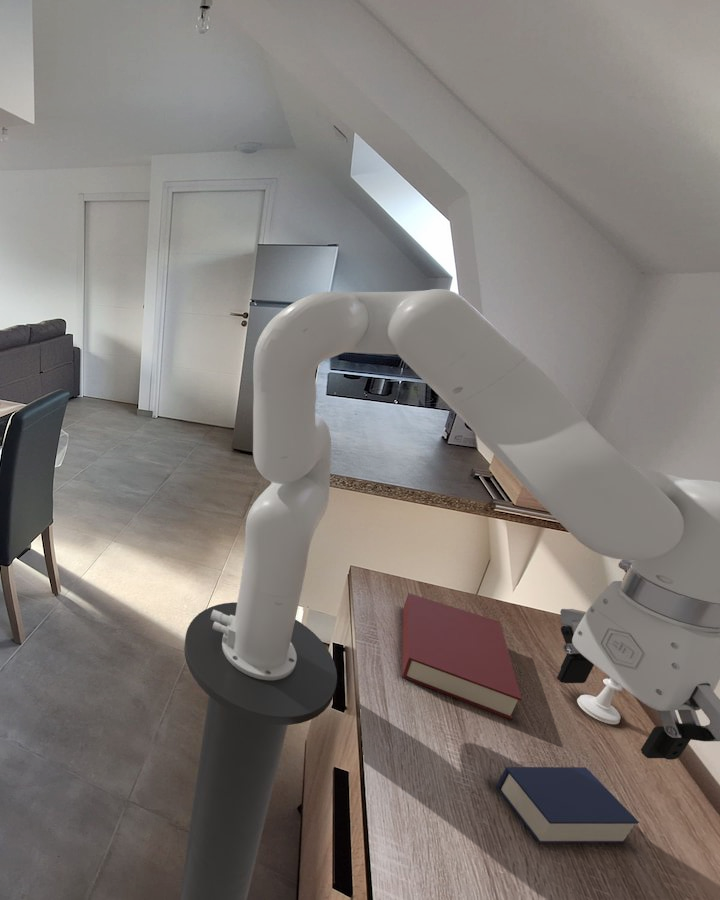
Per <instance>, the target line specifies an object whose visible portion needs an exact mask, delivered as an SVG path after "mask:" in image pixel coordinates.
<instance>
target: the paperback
mask: <svg viewBox="0 0 720 900" xmlns="http://www.w3.org/2000/svg"><path fill="white" fill-rule="evenodd" d="M495 788H496V790H497V791H498V792H499V793H500V795H501V796H502V797H503V798H504V800H505V801H506V803H507V804H508V805H509V806H510V808H511V810H512V811H513V812H514V814H516V816H517V817H518V818H519V819H520V822H522V824H523V825H524V826H525V827H526V829H527V830H528V832H529V833H530V835H532V837H533V838H534V840H535V841H536V842H537V843H538V844H625V843H626V840H625V839H626V838H627V836H628V835H629V833H630V832H631V830H633V828H634V827H635V825H636V824H638V825H639V823H640V821H639V820H638V819H637V818H636V817H635V816H634V815H633V813H631V812H630V811H629V810H628V809H627V808H626V807H625V806H624V805H623V804H622V803H621V801H620V800H618V799H617V797H616V796H615V795H614V794H613V793H611V792H610V790H609V789H607V788H606V786H605V785H604V784H603V783H602V782H601V781H600V780H599V779H598V778H597V777H596V776H595V775H594V774H593V773H592V772H591V771H590V770H589V769H588V768H587V767H586V766H585V767H584V766H583V767H582V766H581V767H579V766H577V767H576V766H575V767H574V766H569V767H568V766H506V767H504V770H503V772H502V774H501V777H500V778H499V780H498V782H497V784H496V786H495Z"/></svg>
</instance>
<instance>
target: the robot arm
mask: <svg viewBox="0 0 720 900" xmlns="http://www.w3.org/2000/svg"><path fill="white" fill-rule="evenodd" d="M345 353H355V354H377V355H398V357H399V358H400V359H401V360H402V361H403V362H404V363H405V364H406V365H407V366H408V367H409V368H410V369H411V370H412V371H413V372H414V373H415V374H416V375H417V376H418V377H419V378H420V379H421V380H422V381H423V382H424V383H425V384H426V385H427V386H429V388H430V389H432V390H433V391H434V392H435V394H436V395H437V396H438V397H440V398H441V399H442V400H443V401H444V403H445V404H446V405H448V407H449V408H450V409H451V410H452V411H453V412H454V413H455V414H456V415H457V416H458V418H460V419H461V420H462V421H463V422H464V423H465V424H466V426H468V427H469V429H471V430H472V432H473V433H474V434H475V436H476V437H477V438H478V439H479V441H480V442H481V443H483V445H484V446H485V447H487V448H488V450H489V451H490V452H491V453H493V454H494V455H495V456H496V457H497V458H498V460H500V462H501V463H502V464H503V465H504V466H505V467H506V468H507V469H508V471H510V472H511V474H512V475H513V476H514V477H515V478H516V479H517V480H518V481H519V482H520V483H521V484H522V486H523V487H524V488H525V489H526V490H527V491H528V492H529V493H530V494H531V495H532V497H533V498H535V499H536V500H537V502H538V503H539V504H540V505H541V506H542V507H543V508H544V509H545V510H546V511H547V512H548V513H549V514H550V515H551V516H552V517H553V518H554V519H555V520H556V521H557V522H558V523H559V524H560V525H561V526H562V527H563V528H564V529H565V530H566V531H567V532H568V533H569V534H570V535H571V536H573V538H575V540H577V541H578V542H579V543H580V544H582V545H583V546H584V547H586V548H588V549H589V550H591V551H593V552H595V553H597V554H599V555H601V556H604V557H608V558H611V559H614V560H620V561H619V562H618V568H620V569H621V570H623V571H624V573H625V574H624V576H623V578H622V580H614V581H612V582H611V583H610V584H609V585H607V586H606V587H605V588H604V590H602V592H600V594H599V595H598V596H597V597H596V598H595V599H594V601H592V603H591V605H590V606H589V607H588V609H587V611H583V610H579V609H573V608H562V609H560V612H559V613H560V622H561V624H562V626H561V627H560V632H561V635H562V638H563V641H564V643H565V644H563V647H562V648H563V651H564V652H565V653H566V655H565V657H564V659H563V661H562V663H561V666H560V670H559V672H558V674H557V677H556V679H557V680H558V681H559V682H560V683H561V684H562V683H563V684H584V683H586V682H587V680H588V678H589V676H590V674H591V672H592V670H593V668H594V666H595V667H596V668H597V669H599V670H600V671H601V672H602V673H604V674H605V675H606V676H607V677H609V679H610V678H611V679H613V680H614V681H615V682H617V683H618V684H619V685H620V686H622V689H624V690H625V691H627V692H628V693H629V694H631V695H632V696H633V697H635V698H636V699H637V700H639V701H640V702H641V703H642V704H644V705H646V706H647V707H649V708H651V709H652V710H653V709H654V710H655V711H657V713H658V716H659V719H660V722H661V724H662V725H657V726H656V725H655V726H654V727H653V729H652V730H651V732H650V734H649V735H648V736H647V738H646V740H645V742H644V744H643V745H642V747H641V748H640V752H641V754H642V755H643V756H644V757H645V758H646V759H665V760H673V761H674V760H676V759H678V758H680V757H681V755H682V754H683V752H684V751H685V749H686V748H687V746H688V745H689V743H690V742H691V740H692V741H699V742H720V697H718V695H717V694H716V693H715V689H716V688H717V686H718V684H719V682H720V481H715V480H709V479H689V478H685V477H681V476H680V477H679V476H675V475H671V474H667V473H664V472H660V471H656V470H652V469H649V468H645V467H642V466H638V465H636V464H631V462H629V460H628V459H626V458H625V457H624V455H622V454H621V453H620V452H619V451H618V450H617V449H616V448H615V447H613V445H612V444H611V443H610V442H609V441H607V439H605V437H603V436H602V435H601V434H600V433H599V432H598V431H597V429H596V428H595V427H593V425H592V424H591V423H590V422H589V421H588V420H587V419H586V418H585V417H584V416H583V415H582V414H581V413H580V411H578V409H577V408H576V406H575V405H574V404H573V403H572V401H571V400H570V399H569V398H568V396H567V395H566V394H565V392H564V391H562V389H561V388H560V387H559V386H558V385H557V384H556V383H555V382H554V381H553V379H551V378H550V377H549V376H548V375H547V374H546V373H545V372H544V371H543V370H542V369H541V368H540V367H538V365H536V364H535V363H534V362H533V361H532V360H531V359H530V358H529V357H528V356H527V355H525V353H523V352H522V350H520V349H519V348H518V347H517V346H516V345H515V344H514V343H512V342H511V340H509V339H508V337H506V336H505V335H504V334H503V333H502V332H501V331H500V330H499V329H497V327H496V326H494V324H492V322H490V321H489V320H488V319H487V318H486V317H485V316H484V315H483V314H482V313H480V311H479V310H477V309H476V308H475V307H474V306H473V305H472V304H471V303H470V302H469V301H467V299H466V298H464V297H463V296H462V295H460V294H459V293H457V292H455V291H452V290H448V289H445V288H444V289H443V288H432V289H425V290H410V291H407V290H406V291H321V292H317V293H312V294H310V295H307V296H305V297H303V298H300V299H298V300H296V301H294V302H292V303H291V304H290V305H288V306H286V307H285V308H283V309H282V310H280V312H278V313H277V314H276V315H275V316H274V317H273V318H272V319H271V320H269V322H268V323H267V325H266V326H265V327H264V328H263V330H262V332H261V334H260V335H259V337H258V339H257V343H256V345H255V348H254V354H253V355H254V356H253V362H252V363H253V365H252V366H253V367H252V368H253V369H252V377H253V402H252V403H253V405H252V456H253V462H254V464H255V468H256V470H257V471H258V473H260V475H261V476H262V477H263V478H264V479H265V480H267V481H269V482H270V484H269V485H268V487H267V488H265V489H264V491H262V493H261V494H260V495H259V496H258V497H257V498H256V500H254V501H253V504H252V505H251V507H250V509H249V511H248V513H247V517H246V521H245V529H244V531H245V533H244V534H245V544H244V545H245V546H244V555H243V563H242V568H241V569H242V570H241V577H240V583H239V589H238V596H237V601H236V602H237V607H236V614H235V616H233V615H230V616H228V615H225V614H223V613H221V612H219V611H216V610H213V611H212V614H211V620H213V621H215V622H214V624H213V628H212V629H214V630H216V631H219V632H222V633H224V635H223V638H222V649H223V652H224V654H225V656H226V658H227V659H228V661H229V662H230V663H231V664H232V665H233V666H234V667H236V668H237V669H238V670H239V671H241V672H243V673H244V674H246V675H249V676H251V677H254V678H257V679H262V680H278V679H282V678H285V677H287V676H288V675H290V674H291V673H292V671H293V670H294V668H295V665H296V660H297V655H296V651H295V648H294V646H293V645H292V643H291V642H290V641H291V637H292V632H293V628H294V623H295V619H296V618H297V613H298V609H299V605H300V600H301V596H302V590H303V585H304V580H305V575H306V571H307V566H308V558H309V552H310V546H311V543H312V540H313V536H314V534H315V532H316V530H317V528H318V526H319V525H320V522H321V520H322V519H323V517H324V516H325V514H326V511H327V509H328V505H329V501H330V487H331V485H330V483H331V457H332V438H331V432H330V428H329V426H328V424H327V423H326V421H325V420H324V419H323V417H321V415H320V414H318V413H317V412H316V404H317V383H316V372H317V370H318V369H317V368H318V367H319V365H320V364H321V363H323V362H324V361H326V360H328V359H332V358H335V357H336V356H339V355H342V354H345ZM296 620H297V619H296ZM217 622H218V623H217ZM220 623H222V624H224V625H227V627H226V626H224V625H222V624H220ZM700 710H701V711H702V712H703V713H704V714H705V716H706V717H707V718H708V720H709V724H707V725H701V722H700V719H699V717H698V715H697V712H696V711H700ZM676 711H677V712H676ZM677 714H678V715H679V718H678V715H677ZM679 719H680V720H679ZM680 721H681V722H680Z"/></svg>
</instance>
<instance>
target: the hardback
mask: <svg viewBox="0 0 720 900" xmlns="http://www.w3.org/2000/svg"><path fill="white" fill-rule="evenodd" d="M401 641H402V649H401V651H402V653H401V655H402V656H401V659H402V660H401V661H402V662H401V666H402V667H401V668H402V669H401V678H403V679H405V680H408V681H409V682H412V683H416V684H418V685H420V686H422V687H426V688H427V689H430V690H433V691H436V692H438V693H441V694H444V695H446V696H449V697H451V698H454V699H456V700H459V701H461V702H464V703H467V704H470V705H472V706H475V707H477V708H479V709H482V710H484V711H488V712H489V713H492V714H495V715H498V716H501V717H502V718H504V719H508V720H510V721H513V712H514V709H515V708H516V706H517V703H518V701H520V702H522V700H523V698H522V694H521V690H520V687H519V684H518V681H517V680H518V679H517V677H516V674H515V669H514V665H513V662H512V659H511V656H510V653H509V648H508V645H507V642H506V638H505V634H504V631H503V628H502V624H501V621H499V620H496V619H493V618H490V617H486V616H484V615H480V614H477V613H473V612H471V611H467V610H464V609H461V608H457V607H454V606H451V605H449V604H445V603H442V602H438V601H435V600H432V599H429V598H425V597H422V596H419V595H415V594H412V593H407V596H406V599H405V602H404V606H403V609H402V639H401Z"/></svg>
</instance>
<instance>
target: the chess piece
mask: <svg viewBox="0 0 720 900" xmlns="http://www.w3.org/2000/svg"><path fill="white" fill-rule="evenodd" d="M602 683H603V684H604V685H605V686H604V688H603V689H602V690H601V691H600V693H598V695H597V696H594V695H590V694H581V695H580V696H579V697H578V698H577V699H576V703H577V705H578V706H579V708H580V709H581V710H582V711H583V712H585V713H586V714H587V715H588V716H589V717H591V718H593V719H595V720H598V721H599V722H602V723H604V724H608V725H618V724H619V723H620V722H621V721H620V720H621V714H620V713H619V711H618V710H617V709H616V708H615V707H614V706H613V705H611V703H612V700H613V697H614V695H615V691H617V692H621V691H623V687H622V686H620V685H619V684H618V683H617V682H615V681H614V680H613V679H611V678H610V677H609V678H604V679H603V680H602Z"/></svg>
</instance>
